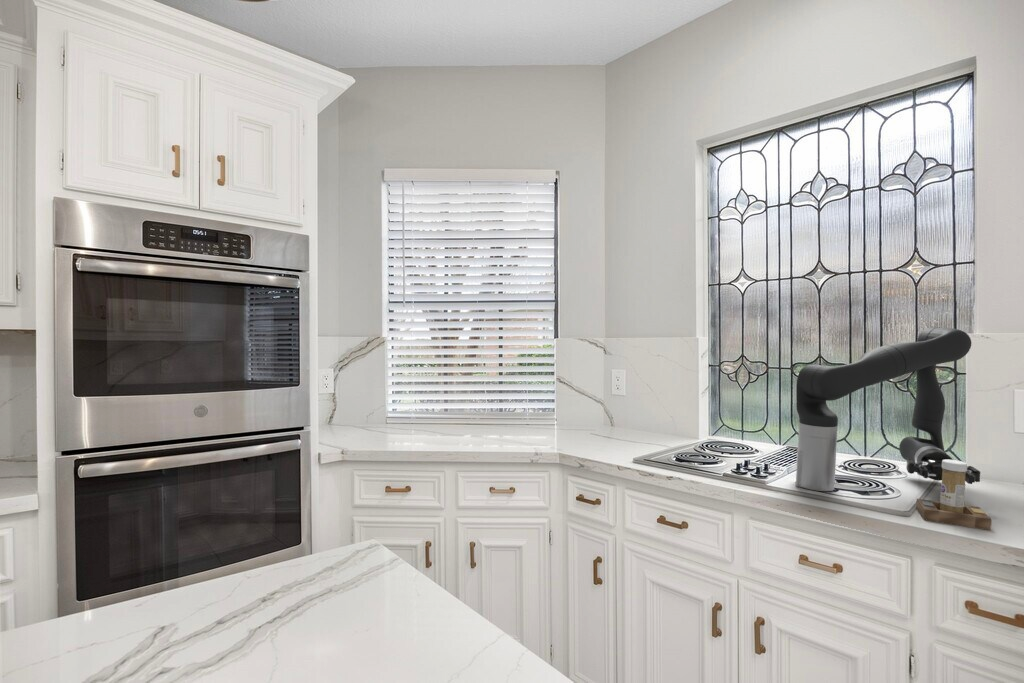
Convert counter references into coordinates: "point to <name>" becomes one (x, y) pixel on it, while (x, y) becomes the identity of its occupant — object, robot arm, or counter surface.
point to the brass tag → (977, 511)
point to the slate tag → (927, 504)
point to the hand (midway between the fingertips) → (948, 476)
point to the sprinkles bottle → (953, 485)
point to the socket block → (953, 515)
